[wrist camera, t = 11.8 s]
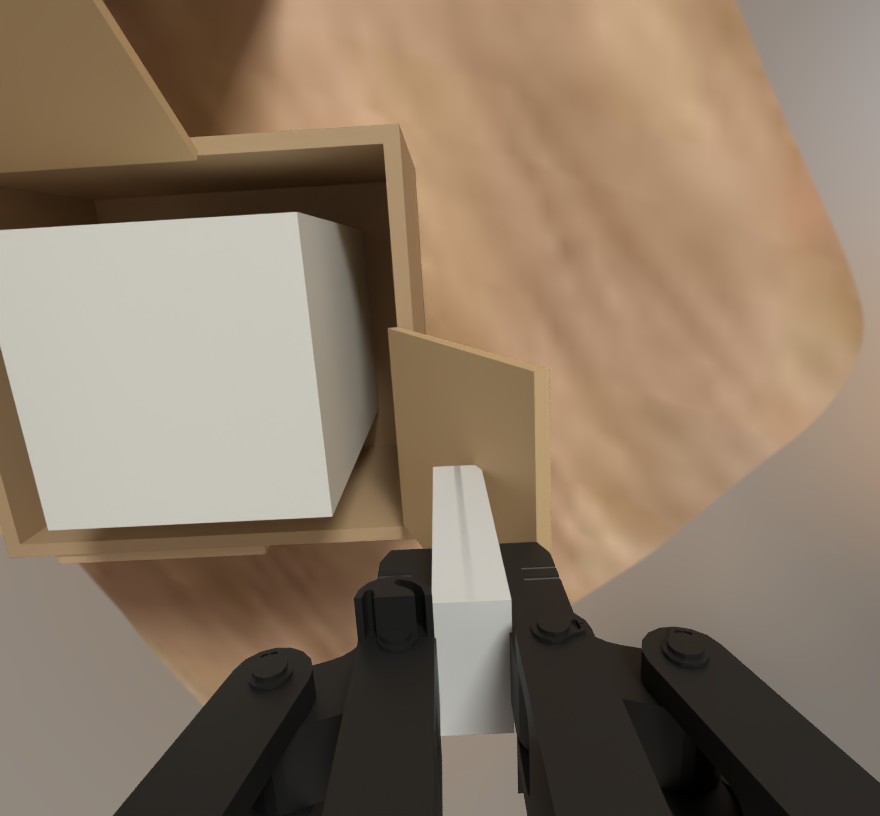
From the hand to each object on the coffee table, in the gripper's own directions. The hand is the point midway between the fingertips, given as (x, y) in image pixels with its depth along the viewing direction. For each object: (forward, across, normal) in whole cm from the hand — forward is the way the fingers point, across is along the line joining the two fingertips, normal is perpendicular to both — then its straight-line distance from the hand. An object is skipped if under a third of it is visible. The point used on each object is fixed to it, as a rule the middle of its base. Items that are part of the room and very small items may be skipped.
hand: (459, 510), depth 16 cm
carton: (+18, -10, +4) cm, 21 cm away
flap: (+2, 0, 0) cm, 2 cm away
